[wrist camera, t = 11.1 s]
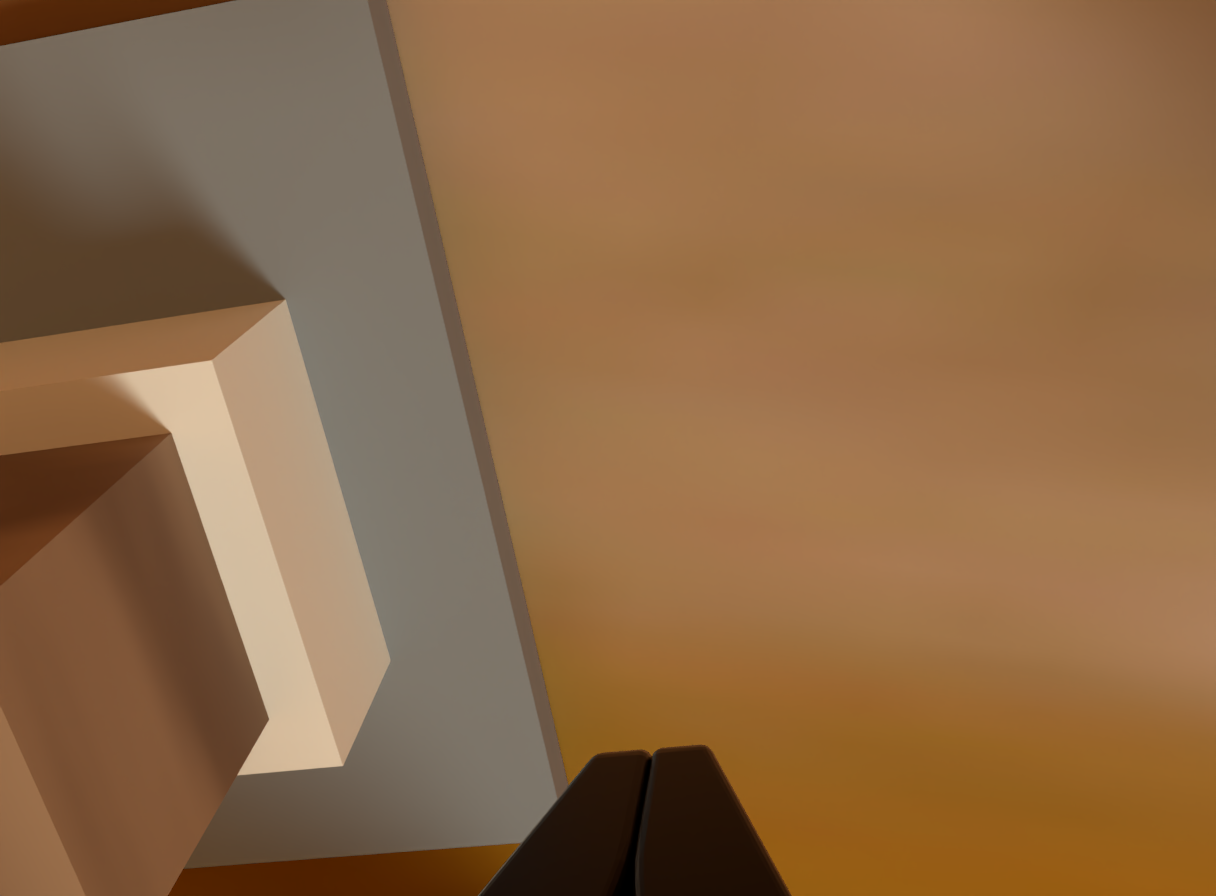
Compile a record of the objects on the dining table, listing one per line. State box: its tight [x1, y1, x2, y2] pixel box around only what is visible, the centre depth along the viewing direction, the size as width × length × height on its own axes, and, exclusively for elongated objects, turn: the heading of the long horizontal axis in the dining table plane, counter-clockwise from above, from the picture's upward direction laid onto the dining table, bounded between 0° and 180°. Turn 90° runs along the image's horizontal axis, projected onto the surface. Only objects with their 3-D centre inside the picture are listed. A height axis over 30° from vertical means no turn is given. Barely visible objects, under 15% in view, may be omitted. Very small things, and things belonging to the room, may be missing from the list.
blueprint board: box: [0, 0, 568, 869], centre depth 20 cm, size 12×16×4 cm
